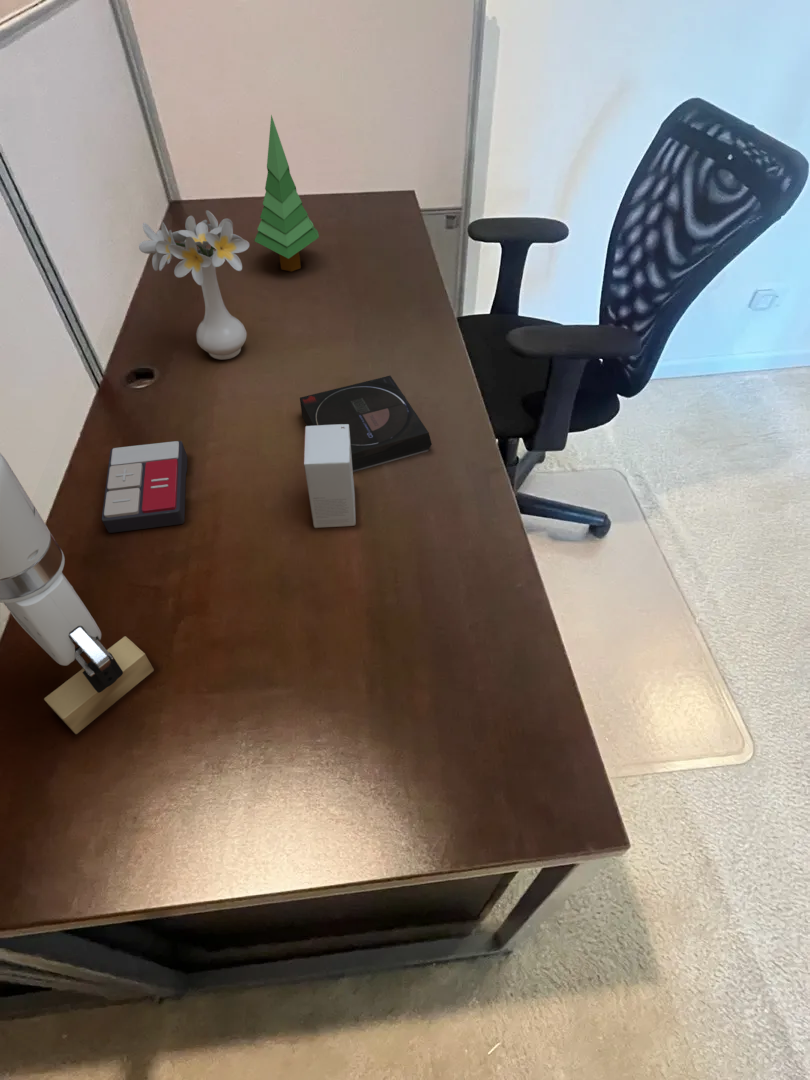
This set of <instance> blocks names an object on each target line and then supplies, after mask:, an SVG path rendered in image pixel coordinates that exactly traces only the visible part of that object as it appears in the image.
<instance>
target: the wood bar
mask: <svg viewBox="0 0 810 1080" xmlns="http://www.w3.org/2000/svg"><path fill="white" fill-rule="evenodd" d="M106 650H107V651H108V652H110V653H111V654H112V656H113V657H114V659H115V660H116V662H117V663H118V665H119V666H120V668H121V670H122V671H123V674H122V676H120V677H119V678H118V679H117V680H116V681H115V682H114V683H113V684H112V685H110V686H109V687H107V688H106V689H104V690H103V691H102V692H100V693H98V692H97V691H96V690H95V689H94V688H93V686H92V685H91V684H90V682H89V681H88V679H87V678H86V677H85V675H84V674H83V673H82V672H84V669H83V668H81V669H80V670H79V671H78V672H77V673H75V674H74V675H72V676H70V678H69V679H68V680H66V681H65V682H64V683H62V684H61V685H60V686H58V687H57V688H56V689H54V690H53V691H52V692H50V693H49V694H48V695H46V696H45V697H44V698H43V701H45V703H47V705H48V706H49V707H50V708H51V710H52V711H53V712H54V713H55V714H56V715H57V716H58V717H59V719H61V721H62V722H63V723H64V724H65V725H66V726H67V727H68V728H69V729H70V730H71V731H72V732H73V733H74V735H78V734H79V733H80V732H81V731H82V730H84V729H85V728H86V727H88V725H90V724H91V723H93V722H94V720H96V719H97V718H98V717H100V716H101V715H102V714H103V713H104V712H105V711H107V710H108V709H109V708H111V707H112V706H113V705H114V704H115V703H117V702H118V701H120V699H121V698H123V697H124V696H125V695H126V694H127V693H129V692H130V691H131V690H132V689H133V688H135V687H136V686H137V685H138V684H139V683H141V682H142V681H143V680H145V678H147V677H148V676H149V675H151V674H152V673H153V672H154V671H155V669H154V667H153V666H152V664H151V662H150V659H149V658H148V657H147V655H146V653H145V652H144V651H143V650H142V649H140V648H139V647H138V646H137V645H136V644H135V643H134V642H133V641H132V640H131V639H129V638H128V637H127V636H123V637H122V638H120V639H119V640H117V642H115V643H114V644H113V645H111V646H110V647H109V648H107V649H106Z"/></svg>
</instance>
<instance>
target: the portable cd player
mask: <svg viewBox="0 0 810 1080" xmlns="http://www.w3.org/2000/svg"><path fill="white" fill-rule="evenodd" d="M299 402H300V403H299V404H300V411H301V416H302V419H303V420H304V423H305V425H306V426H317V425H337V424H349V431H350V443H351V456H352V469H353V473H356V472H359V471H363V470H366V469H369V468H374V467H377V466H380V465H384V464H388V463H391V462H395V461H398V460H402V459H406V458H408V457H409V458H410V457H413V456H417V455H420V454H423V453H424V454H425V453H426V452H429V450H430V449H431V446H432V445H433V444H432V440H431V436H430V432H429V430H428V429H427V428H426V426H425V425H424V423H423V422H422V420H421V418H420V417H419V416H418V414H417V412H416V411H415V410H414V408H413V407H412V405H411V403H410V402H409V401H408V399H407V398H406V397H405V395H404V394H403V392H402V390H401V389H400V388H399V386H398V384H397V383H396V382H395V380H394V379H393V377H392V375H387V376H383V377H378V378H375V379H374V378H373V379H370V380H365V381H362V382H361V381H360V382H358V383H354V384H350V385H345V386H341V387H338V388H337V387H336V388H333V389H329V390H324V391H321V392H318V393H313V394H309V395H304V396H301V397H299Z"/></svg>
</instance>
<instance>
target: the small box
mask: <svg viewBox="0 0 810 1080" xmlns="http://www.w3.org/2000/svg"><path fill="white" fill-rule="evenodd" d="M303 442H304V443H303V444H304V445H303V468H304V474H305V479H306V486H307V492H308V498H309V499H308V500H309V505H310V511H311V519H312V524H313V528H315V529H318V528H319V529H320V528H336V527H337V528H338V527H339V528H340V527H353V526H356V525H357V524H356V522H357V521H356V492H355V491H356V490H355V482H354V480H355V479H354V472H353V469H352V456H351V443H350V431H349V424H337V425H317V426H307V425H306V426H305V427H304V440H303Z"/></svg>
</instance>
